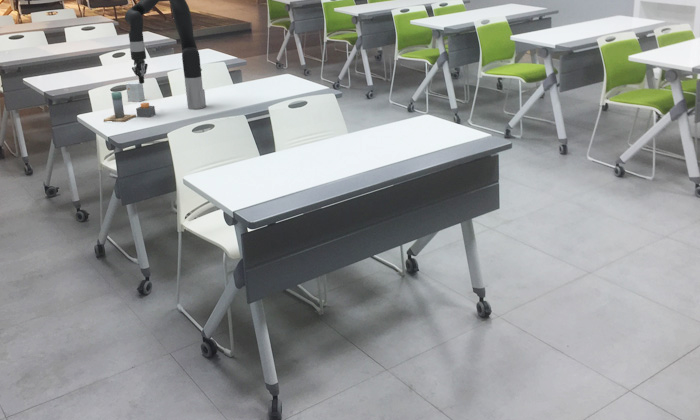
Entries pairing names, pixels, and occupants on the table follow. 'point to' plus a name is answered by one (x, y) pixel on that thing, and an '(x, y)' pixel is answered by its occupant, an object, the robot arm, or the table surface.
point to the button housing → (145, 111)
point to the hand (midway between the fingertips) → (142, 83)
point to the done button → (144, 105)
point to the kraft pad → (124, 119)
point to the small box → (135, 91)
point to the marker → (118, 104)
